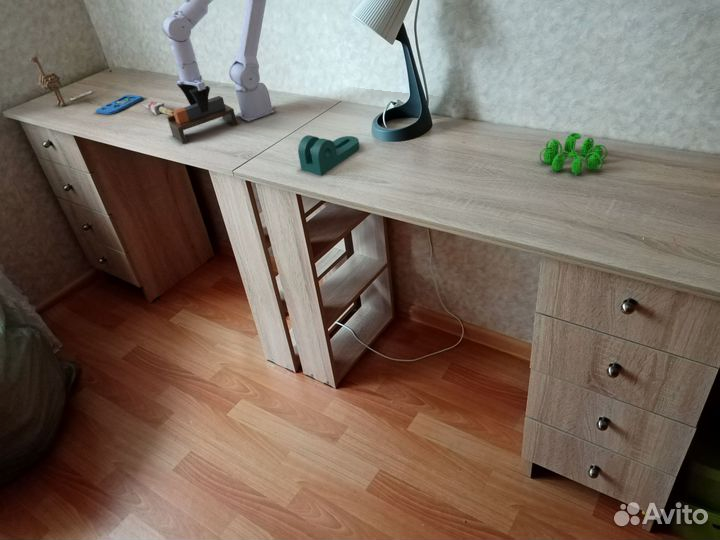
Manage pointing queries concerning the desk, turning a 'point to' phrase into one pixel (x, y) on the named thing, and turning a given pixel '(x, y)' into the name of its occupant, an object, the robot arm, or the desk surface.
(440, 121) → the desk surface
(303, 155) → the bracket
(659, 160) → the desk surface
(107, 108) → the handheld gaming device
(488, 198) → the desk surface
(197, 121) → the shelf
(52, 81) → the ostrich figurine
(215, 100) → the marker
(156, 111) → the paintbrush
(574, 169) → the chandelier
